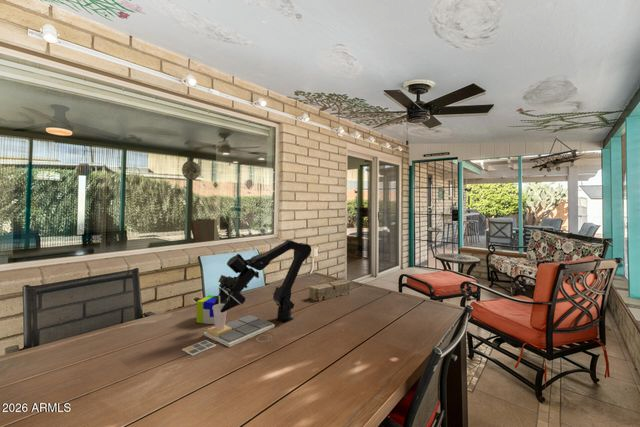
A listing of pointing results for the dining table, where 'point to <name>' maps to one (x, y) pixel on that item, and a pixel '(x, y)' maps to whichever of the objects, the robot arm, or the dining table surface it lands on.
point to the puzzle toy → (207, 309)
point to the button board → (242, 330)
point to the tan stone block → (329, 289)
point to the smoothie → (219, 316)
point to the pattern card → (198, 347)
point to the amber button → (218, 331)
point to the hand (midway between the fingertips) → (217, 308)
